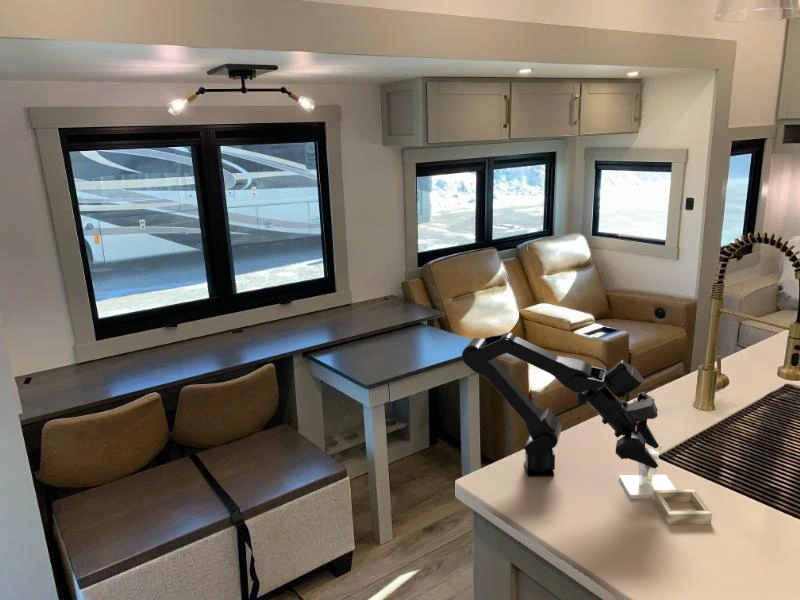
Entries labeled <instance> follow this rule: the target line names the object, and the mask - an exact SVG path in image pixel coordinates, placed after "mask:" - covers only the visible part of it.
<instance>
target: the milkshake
mask: <svg viewBox="0 0 800 600" xmlns="http://www.w3.org/2000/svg"><path fill="white" fill-rule="evenodd" d="M662 448H663V445H661V446H659V449H658V451H656V450H655V448H654V449H653V448H651V447H646V449H647V450H648V452H649V453H650V454H651V456H652V457H653V458H654V460H655V461H656V463H657V464H658V463H659V462H658V460H659V456H660V455H659V453H660V451H661V450H662ZM637 466H638V469H637V470H638V475H639V485H640V486H641V487H644V488H651V487H653V485H654V479H655V475H656V473H657V472H656V471H657V468H652V467H649V466H647V465H644V464H642V463H639V462H637Z"/></svg>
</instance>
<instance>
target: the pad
mask: <svg viewBox="0 0 800 600" xmlns="http://www.w3.org/2000/svg"><path fill="white" fill-rule="evenodd" d="M618 478H619V479H618V480H619V481H620V483H621V485H622V487H623V489H624V490H625V492H626V494H627V495H628V498H629V499H632V500H635V499H636V500H637V499H640V500H641V499H653V492H654V490H677V488H676V487H675V486H674V484H673V483H672V481H671V480H670V479H669V477H668V476H667V474H655V479H654V485H653V487H651V488H644V487H641V486H640V485H639V474H633V475H631V474H630V475H629V474H628V475H619V477H618Z"/></svg>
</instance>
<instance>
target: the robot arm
mask: <svg viewBox="0 0 800 600" xmlns="http://www.w3.org/2000/svg"><path fill="white" fill-rule="evenodd" d="M505 354H508V355H510V356H513V357H515V358H517V359H519V360H521V361H523V362H525V363H528V364H529V365H531V366H533V367H536V368H537V369H539V370H542V371H544V372H545V373H548V374H550V375H552V376H553V377H554V378H555V379H556V380H557V381H558V382H559V383H560V384H561V385H563V386H564V387H565V388H567V389H569V391H572V392H573V393H576V394H577V399H578V401H577V406H582V405H584V404H585V403H588V405H589V406H590V407H591V408H592V409H593V410H594V411H595V412H596V413H597V414H598V415H599V416H600V417H601V418H602V419H601V423H603V425H606V424H608V426H610V428H611V429H612V430H613V431H614V436H615V437H616V438H617V440H616V445H615V454H616V455H617V456H618V457H619V458H620V459H621V460H624V459H625V460H631V461H635V462H637V463H638V462H639V463H642V464H644V465H647V466H649V467H652V468H656V469H657V468H659V464H658V462H657V463H656V461H655V460H654V458H653V457H652V456H651V454H650V453H649V452H648V450H647V449H646V448H647V447H646V445H648V446H649V447H650V448H651V447H652V449H653V448H654V450H655V449H658V448H660V445H659V443H658V441H657V439H656V438H655V436H654V435H653V432H652V431H651V429H650V428H649V426H648V420H653V419H654V420H655V419H656V418H657V417H658V415H659V414H658V411H659V410H658V407H657V406H656V403H655V399H654V398H653V397H652V396H651V395H648V394H647V393H646V392H645V391H642V392H639V393H637V397H636V398H637V400H636V399H634V400H633V402H631V403H630V402H628V401H627V400H625V399H624V398H625V397H626V396H628V395H629V394H631V393H632V392H633V391H636V389H637V388H639V387H641V386H642V385H643V384H645V380H644V378H643V376H642V374H641V373H640V372H639V370H638V369H637V368H636V367H635V366H632V365H631V364H630V363H628V362H625V361H624V360H623V359H621V360H619V362H617V363H616V364H615V365H614V366H613V367H612V368H610V369H609V370H607V369H605V368H601V367H598V366H597V367H596V366H593V365H591V364H589V362H586V361H584V360H580V359H576V358H573V357H564V356H559V355H557V354H554V353H553V352H550V351H548V350H547V349H544V348H542V347H540V346H538V345H536V344H534V343H532V342H529V341H527V340H525V339H523V338H522V337H519V336H517V335H516V334H514V333H513V332H505V333H503V334H497V335H492V336H488V337H485V338H483V337H474V338H472V339H471V340H470V342H469V343H468V344H467V345H466V346H465V347H464V349H463V350H462V353H461V359H462V362H463V364H465V366H467V367H468V368H469V369H471V371H472V372H474V373H476V374H477V375H480V376H481V377H484V378H485V379H487V381H488V382H489V383H490V384H491V385H492V386H493V388H494V389H496V391H497V392H498V393H499V394H500V395H501V396H502V397H503V399H504V400H505V401H506V402H507V403H508V405H510V407H511V408H512V409H513V410H514V411H515V412H516V413H517V415H518V416H519V417H520V418H521V419H522V421H523V422H524V424H525V427H526V430H527V432H528V438H527V439H526V443H525V444H524V447H523V449H524V451H525V455H524V456H525V458H524V459H525V460H524V461H523V464H524V465H523V466H524V468H525V471H526V475H527V476H528V477H554V476H555V473H554V470H555V469H556V468H555V466H556V465H555V464H556V455H555V452H554V450H553V449H555V447H557V444H558V441H559V439H560V435H561V432H562V425H561V423H560V418H559V417H558V416H556V415H555V414H554V413H553V412H552V410H551V408H549V407H548V408H547V409H546V410H543V409H541V408H540V407H538V406H537V405H536V403H534V402H533V401H532V400H531V398H530V397H529V396H528V395H527V394H526V393H525V392H524V391H523V389H522V388H521V387H520V386H519V385H518V384H517V382H516V381H515V380H513V378H512V377H511V375H509V374H508V372H507V371H506V370H505V369H504V368H503V367H502V366H501V364H500V362H499V359H498V357H500V356H502V355H505ZM619 398H623V399H619ZM621 436H622V437H621ZM619 437H620V438H619ZM618 438H619V439H618Z"/></svg>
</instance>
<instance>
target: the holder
mask: <svg viewBox="0 0 800 600" xmlns="http://www.w3.org/2000/svg"><path fill="white" fill-rule="evenodd" d="M652 501H653V502H654V504H655V505H656V507H657V508H658V510H659V512H660V513H661V515H662V517H663V518H664V520H665V522H666V523H667V524H668V525H699V524H701V525H703V524H704V525H705V524H706V525H707V524H708V525H709V524H711V525H712V516H713V513H712V512H711V510H710V508H708V506H707V505H706V504H705V502H704V501H703V500H702V498H701V497H700V495H699V494H698V493H697V491H696V490H695V489H694V488H691V489H689V488H688V489H685V488H684V489H683V488H681V489H679V488H678V489H676V490H654V492H653V498H652ZM677 502H679V503H682V502H690V503H691V504H692V506H693V507H694V509H695V510H683V511H682V510H676V511H674V510H672V509H671V508H670V506H669V504H668V503H677Z"/></svg>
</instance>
